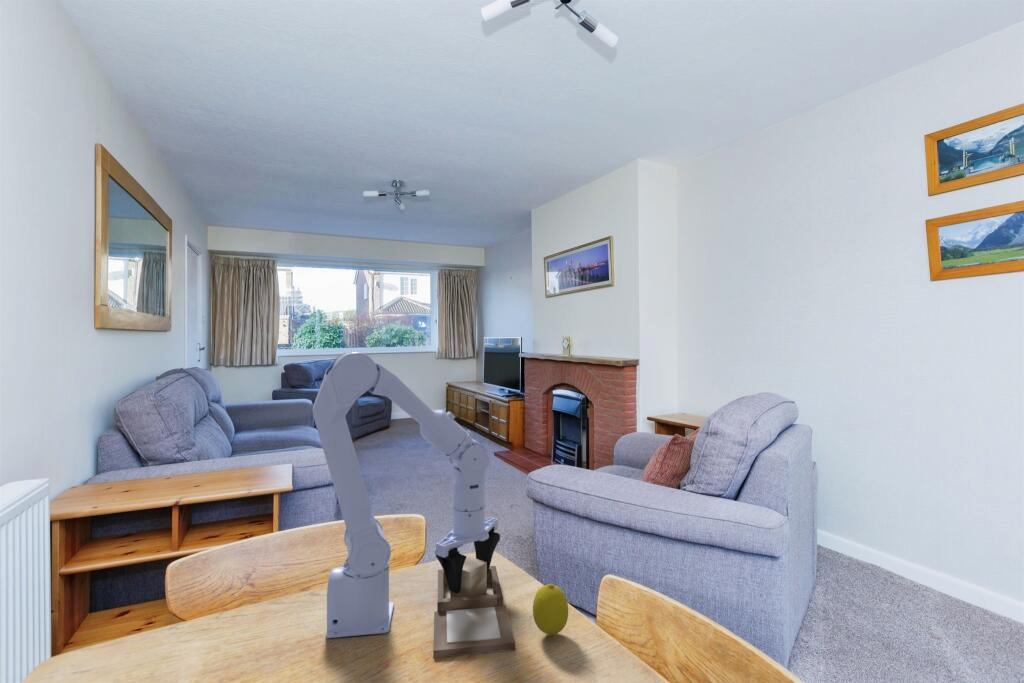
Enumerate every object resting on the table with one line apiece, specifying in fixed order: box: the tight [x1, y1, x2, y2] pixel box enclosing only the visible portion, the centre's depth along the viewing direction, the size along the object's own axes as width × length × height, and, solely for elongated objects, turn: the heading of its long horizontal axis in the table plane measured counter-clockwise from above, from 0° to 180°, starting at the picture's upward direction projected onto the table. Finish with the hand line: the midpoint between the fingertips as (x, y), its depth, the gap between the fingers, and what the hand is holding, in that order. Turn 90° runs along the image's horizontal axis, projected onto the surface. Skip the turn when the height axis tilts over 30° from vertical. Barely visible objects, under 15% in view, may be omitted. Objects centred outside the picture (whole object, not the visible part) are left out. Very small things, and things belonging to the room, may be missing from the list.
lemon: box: [532, 583, 569, 637], centre depth 72 cm, size 6×6×8 cm
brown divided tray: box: [432, 565, 516, 658], centre depth 78 cm, size 12×21×2 cm, turn 9°
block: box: [449, 555, 488, 598], centre depth 83 cm, size 5×5×6 cm
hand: (469, 581), depth 83 cm, fingers open, 7 cm apart
